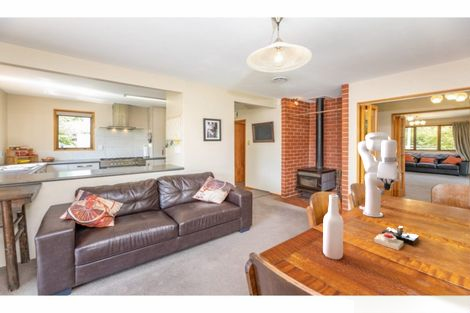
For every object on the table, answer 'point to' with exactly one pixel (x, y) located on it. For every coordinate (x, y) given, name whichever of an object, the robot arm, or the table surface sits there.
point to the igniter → (388, 241)
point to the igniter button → (388, 235)
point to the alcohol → (333, 230)
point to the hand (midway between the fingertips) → (387, 189)
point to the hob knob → (400, 230)
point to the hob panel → (403, 236)
